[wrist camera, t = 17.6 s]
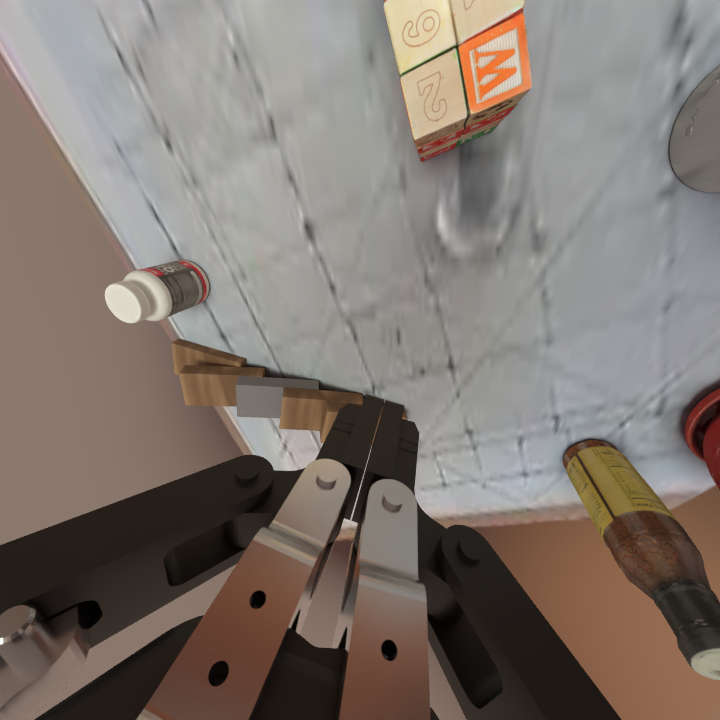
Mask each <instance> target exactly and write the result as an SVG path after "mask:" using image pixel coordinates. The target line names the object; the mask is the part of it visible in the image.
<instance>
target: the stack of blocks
mask: <svg viewBox="0 0 720 720" xmlns="http://www.w3.org/2000/svg"><path fill="white" fill-rule="evenodd" d="M524 4H525V0H384V11H385V15H386V19H387V24H388V28H389V32H390V36H391V41H392V45H393V49H394V54H395V58H396V62H397V67H398V71H399V76H400V81H401V86H402V91H403V95H404V99H405V104H406V108H407V113H408V117H409V122H410V126H411V130H412V134H413V139H414V142H415V145H416V148H417V151H418V154H419V158H420V160H421V161H424V160H427V159H429V158H431V157H434V156H436V155H439V154H441V153H443V152H446V151H448V150H450V149H453V148H455V147H456V146H458V145H461V144H463V143H466V142H468V141H470V140H473V139H475V138H478V137H480V136H483V135H485V134H488V133H490V132H492V131H493V130H494V129H495V128H496V127H497V125H498V124H499V123H500V122H501V121H502V120H503V119H504V117H505V116H507V115H508V114H509V113H510V112H511V111H512V110H513V109H514V108H515V107H516V106H517V103H518V102H519V101H520V100H521V98H522V97H523V96H524V95H525V94H526V93H527V92H528V91H529V90H530V89H531V88H532V77H531V69H530V60H529V52H528V42H527V34H526V24H525V16H524V14H523V9H524Z"/></svg>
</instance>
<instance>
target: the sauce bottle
mask: <svg viewBox="0 0 720 720" xmlns="http://www.w3.org/2000/svg"><path fill="white" fill-rule="evenodd" d="M563 462H564V466H565V468H566V470H567V473H568V476H569V478H570V480H571V482H572V484H573V486H574V488H575V489H576V491H577V493H578V495H579V497H580V498H581V500H582V502H583V504H584V506H585V508H586V509H587V511H588V513H589V515H590V517H591V519H592V521H593V522H594V524H595V526H596V528H597V530H598V532H599V533H600V535H601V537H602V539H603V541H604V543H605V544H606V546H607V547H608V548H609V549H610V551H611V553H612V554H613V556H614V558H615V560H616V562H617V564H618V566H619V567H620V568H621V569H622V571H623V572H624V574H625V576H626V577H627V578H628V580H629V581H630V582H632V583H633V584H634V585H636V586H637V587H638V588H639V589H641V590H642V591H643V592H644V593H645V594H647V595H648V596H649V597H650V598H651V599H653V600H654V602H655V604H656V606H657V607H658V608H659V609H660V610H661V611H662V614H663V615H664V617H665V619H666V620H667V622H668V624H669V625H670V627H671V628H672V630H673V631H674V634H675V635H676V637H677V642H678V647H679V649H680V651H681V652H682V654H683V655H684V657H685V658H686V660H687V662H688V663H689V664H690V666H691V667H692V669H693V670H695V671H697V673H699V674H701V675H703V676H705V677H708V678H711V679H716V680H720V603H719V600H718V598H717V596H716V595H715V594H714V592H713V591H712V590H711V588H710V585H709V582H708V579H707V576H706V572H705V569H704V563H703V559H702V556H701V554H700V552H699V550H698V549H697V547H696V546H695V545H694V543H693V542H692V540H691V539H690V537H689V536H688V535H687V533H686V532H685V530H684V529H683V527H682V526H681V525H680V524H679V522H678V521H677V520H676V519H675V517H674V516H673V515H672V514H671V512H670V511H669V510H668V509H667V507H666V506H665V505H664V504H663V502H662V501H661V500H660V499H659V497H658V496H657V495H656V494H655V492H654V491H653V490H652V489H651V487H650V486H649V485H648V484H647V483H646V481H645V480H644V479H643V478H642V477H641V475H640V474H639V473H638V472H637V471H636V469H635V468H634V467H633V466H632V464H631V463H630V462H629V461H628V460H627V458H626V457H625V456H624V455H623V454H622V453H621V452H619V451H618V449H617V448H616V447H615V446H613V445H611V444H609V443H606V442H603V441H599V440H588V441H584V442H581V443H579V444H576V445H574V446H572V447H570V449H568V451H567V452H566V454H565V457H564V461H563Z"/></svg>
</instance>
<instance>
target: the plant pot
mask: <svg viewBox="0 0 720 720" xmlns="http://www.w3.org/2000/svg"><path fill="white" fill-rule="evenodd" d="M685 439H686V442H687V444H688V446H689V448H690V449H691V451H692V452H693V453H694V454H695V455H696V456H698V457H699V458H700V459H702V460H703V461H705V462H706V465H707V467H708V470H709V472H710V474H711V476H712V478H713V480H714V482H715V483H716V485H717V486H718V488H719V489H720V388H719V389H717V390H716V391H714V392H712V393H711V394H709V395H708V396H706V397H705V398H704V399H703V400H701V401H700V402H699V403H698V404H697V405H696V406H695V407H694V409H693V410H692V411H691V413H690V415H689V416H688V419H687V421H686V425H685Z"/></svg>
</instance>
